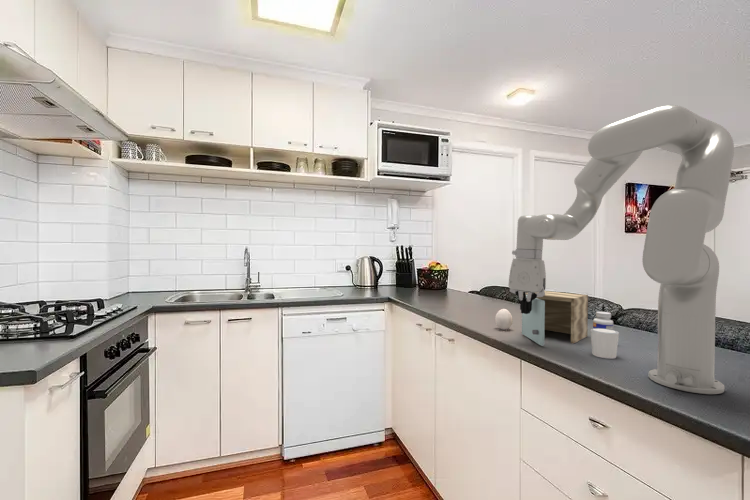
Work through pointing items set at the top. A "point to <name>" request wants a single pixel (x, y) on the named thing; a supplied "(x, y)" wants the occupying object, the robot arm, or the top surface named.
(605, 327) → the pill bottle
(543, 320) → the door
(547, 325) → the cabinet
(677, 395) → the top surface
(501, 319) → the egg
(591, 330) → the white cup
